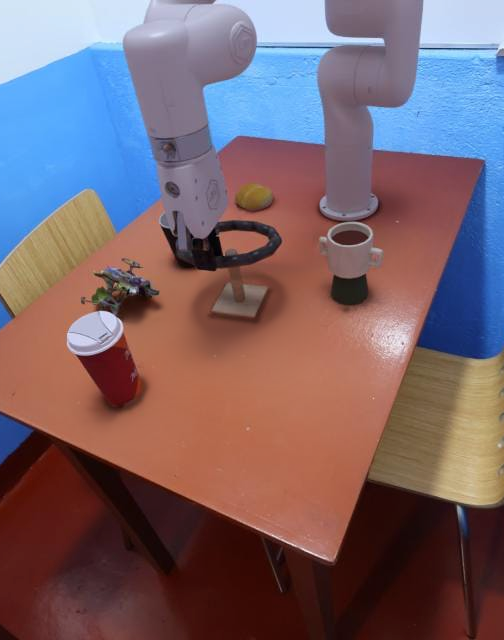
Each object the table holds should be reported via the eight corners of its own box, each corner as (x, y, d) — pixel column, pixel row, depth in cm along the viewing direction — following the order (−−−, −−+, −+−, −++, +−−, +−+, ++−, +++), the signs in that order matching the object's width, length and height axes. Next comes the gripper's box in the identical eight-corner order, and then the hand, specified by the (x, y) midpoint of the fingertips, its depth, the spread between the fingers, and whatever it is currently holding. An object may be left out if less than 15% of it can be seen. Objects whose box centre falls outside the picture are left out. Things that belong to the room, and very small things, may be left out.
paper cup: (159, 388, 72) (131, 322, 63) (119, 422, 68) (82, 357, 59) (129, 366, 76) (99, 301, 67) (90, 396, 73) (52, 332, 63)
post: (228, 287, 88) (217, 236, 81) (268, 291, 86) (261, 239, 78) (212, 315, 83) (199, 264, 75) (255, 321, 80) (245, 268, 73)
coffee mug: (206, 272, 93) (195, 228, 86) (165, 271, 95) (152, 228, 88) (221, 239, 101) (212, 196, 94) (183, 238, 103) (172, 197, 96)
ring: (203, 226, 85) (202, 216, 84) (292, 232, 79) (292, 221, 78) (158, 264, 71) (156, 253, 70) (261, 274, 66) (260, 263, 65)
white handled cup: (387, 293, 81) (392, 228, 72) (371, 318, 77) (375, 253, 68) (329, 278, 86) (327, 216, 77) (312, 301, 82) (308, 238, 73)
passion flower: (151, 317, 93) (172, 279, 85) (113, 347, 85) (133, 309, 77) (108, 280, 93) (125, 239, 85) (67, 306, 85) (81, 264, 77)
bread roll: (256, 215, 106) (253, 199, 103) (230, 204, 111) (227, 189, 109) (281, 200, 110) (280, 184, 107) (255, 190, 115) (253, 174, 112)
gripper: (182, 172, 51) (213, 301, 63) (232, 116, 61) (251, 236, 74) (122, 170, 53) (164, 295, 65) (180, 117, 64) (207, 233, 76)
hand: (210, 263), depth 69 cm, fingers closed on ring, 1 cm apart
